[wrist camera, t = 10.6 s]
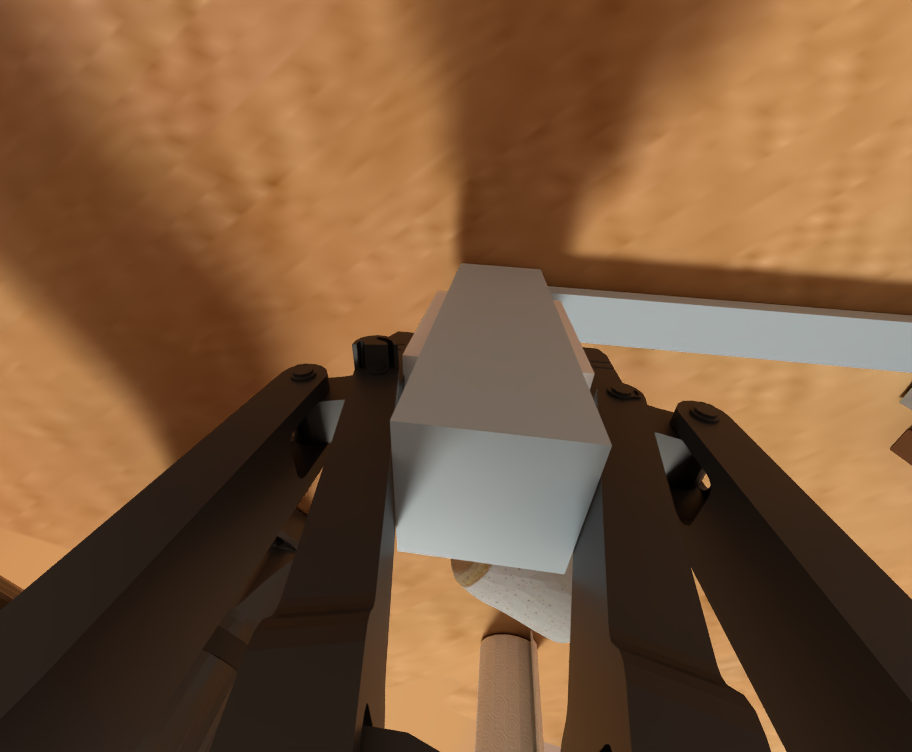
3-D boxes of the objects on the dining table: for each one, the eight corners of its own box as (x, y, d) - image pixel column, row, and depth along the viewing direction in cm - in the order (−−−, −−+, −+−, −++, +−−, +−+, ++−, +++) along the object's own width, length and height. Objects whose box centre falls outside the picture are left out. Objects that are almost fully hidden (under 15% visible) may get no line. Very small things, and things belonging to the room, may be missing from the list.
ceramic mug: (502, 455, 24) (500, 562, 18) (597, 504, 25) (627, 621, 19) (434, 529, 30) (412, 632, 23) (514, 567, 31) (515, 675, 24)
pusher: (455, 359, 20) (399, 585, 9) (462, 231, 17) (385, 347, 6) (931, 405, 19) (1582, 758, 7) (1053, 273, 15) (2670, 568, 4)
